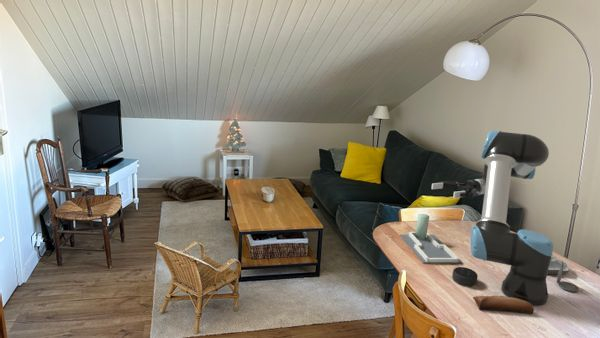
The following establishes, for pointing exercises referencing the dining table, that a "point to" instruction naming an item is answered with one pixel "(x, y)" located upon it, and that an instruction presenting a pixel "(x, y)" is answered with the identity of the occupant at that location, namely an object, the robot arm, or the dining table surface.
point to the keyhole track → (430, 249)
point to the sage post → (422, 226)
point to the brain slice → (556, 266)
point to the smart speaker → (464, 276)
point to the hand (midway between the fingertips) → (442, 190)
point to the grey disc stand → (563, 284)
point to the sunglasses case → (503, 304)
